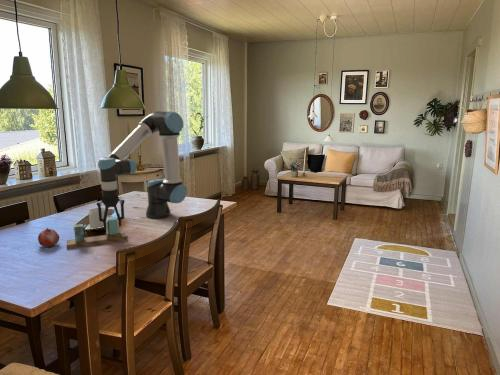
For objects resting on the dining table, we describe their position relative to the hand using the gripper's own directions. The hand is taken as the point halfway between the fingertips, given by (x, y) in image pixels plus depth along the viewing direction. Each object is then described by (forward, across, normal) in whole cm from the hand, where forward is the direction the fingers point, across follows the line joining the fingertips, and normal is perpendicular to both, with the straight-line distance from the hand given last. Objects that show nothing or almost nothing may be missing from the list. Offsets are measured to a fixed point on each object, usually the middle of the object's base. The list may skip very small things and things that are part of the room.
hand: (112, 232), depth 190 cm
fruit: (+4, +30, -5) cm, 30 cm away
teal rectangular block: (0, 0, 0) cm, 1 cm away
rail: (+4, +8, 0) cm, 9 cm away
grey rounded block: (+4, +5, -23) cm, 24 cm away
